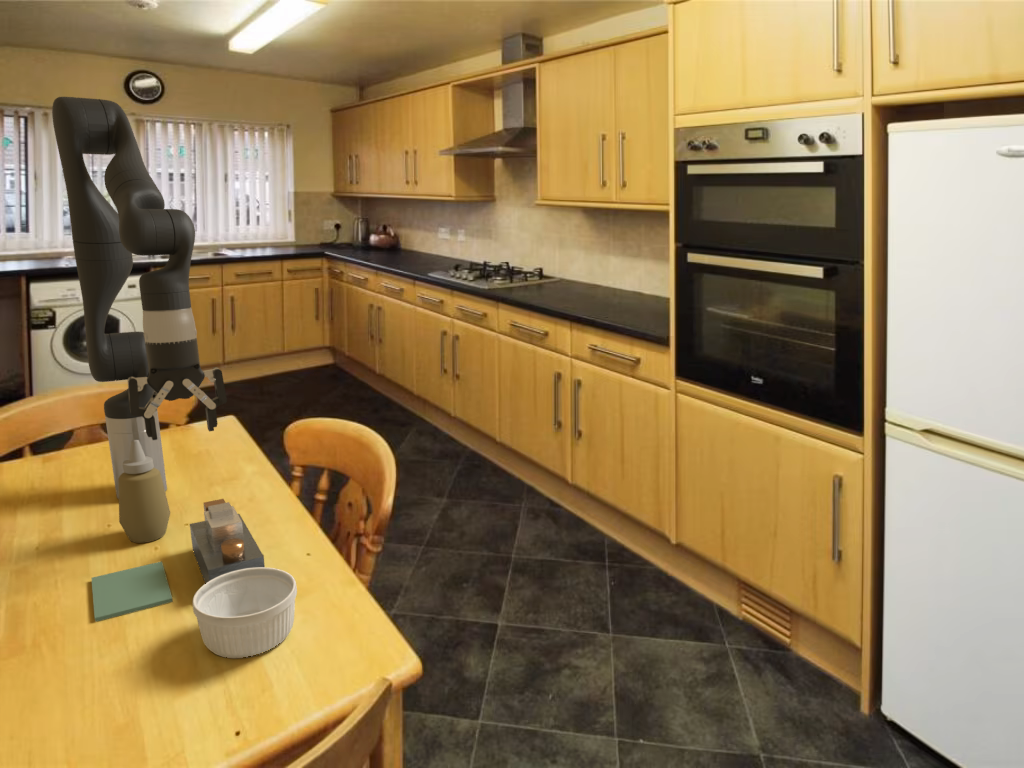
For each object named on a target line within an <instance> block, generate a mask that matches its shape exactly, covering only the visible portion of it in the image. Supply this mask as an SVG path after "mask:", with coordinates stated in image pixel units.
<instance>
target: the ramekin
mask: <svg viewBox="0 0 1024 768" xmlns="http://www.w3.org/2000/svg"><path fill="white" fill-rule="evenodd" d="M297 594H298V588H297V582H296V579H295V578H294V576H293V575H292V574H291V573H289V572H287V571H285V570H283V569H278V568H274V567H266V566H265V567H256V568H246V569H241V570H236V571H232V572H229V573H226V574H223V575H221V576H218V577H216V578H214V579H212V580H210V581H209V582H207V583H206V584H205V583H204V584H203V585H202V586H201V587H200V588H199V589H198V590H197V591H196V592H195V593H194V596H193V598H192V611H193V614H194V616H195V617H196V619H197V624H198V627H199V632H200V635H201V639H202V641H203V644H204V646H206V648H207V649H208V650H210V651H211V652H212V653H214V654H215V655H217V656H219V657H223V658H226V657H227V658H228V659H244V658H243V657H246V658H249V657H248V656H251V657H254V656H253V655H256V654H259V655H261V654H260V653H262V652H265V651H267V650H269V649H271V648H273V647H274V648H276V647H277V646H279V645H280V644H281V643H282V642H284V640H285V639H286V638H287V637H288V636H289V634H290V633H291V631H292V629H293V626H294V622H295V607H296V606H295V604H296V597H297ZM279 643H280V644H279ZM278 644H279V645H278ZM276 645H277V646H276ZM275 646H276V647H275ZM274 648H273V649H274ZM271 650H272V649H271ZM269 651H270V650H269ZM267 652H268V651H267ZM265 653H266V652H265ZM262 654H263V653H262ZM256 656H257V655H256Z"/></svg>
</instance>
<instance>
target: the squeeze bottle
mask: <svg viewBox="0 0 1024 768" xmlns="http://www.w3.org/2000/svg"><path fill="white" fill-rule="evenodd" d="M153 467H154V465H153V459H152V458H151V457H148V456H145V454H144V452H143V449H142V447H141V444H140V442H139V440H132V441H131V447H130V456H129V459H127V460H125V461H124V462H123V470H124V473H122V474H121V475H120V476H119V478H118V483H119V499H118V515H119V516H118V518H119V519H118V522H119V524H120V526H121V528H122V529H123V530H124V533H125V534H126V536H127V538H128V540H129V542H132V543H136V544H137V543H138V544H142V543H149V542H153V541H156V540H159V539H160V538H162V537H164V536H166V532H167V529H168V524H169V522H170V521H169V520H170V517H171V509H170V505H169V502H168V498H167V493H166V491H165V489H164V485H163V481H162V477H161V473H160V471H159V470H158V469H156V468H153Z"/></svg>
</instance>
